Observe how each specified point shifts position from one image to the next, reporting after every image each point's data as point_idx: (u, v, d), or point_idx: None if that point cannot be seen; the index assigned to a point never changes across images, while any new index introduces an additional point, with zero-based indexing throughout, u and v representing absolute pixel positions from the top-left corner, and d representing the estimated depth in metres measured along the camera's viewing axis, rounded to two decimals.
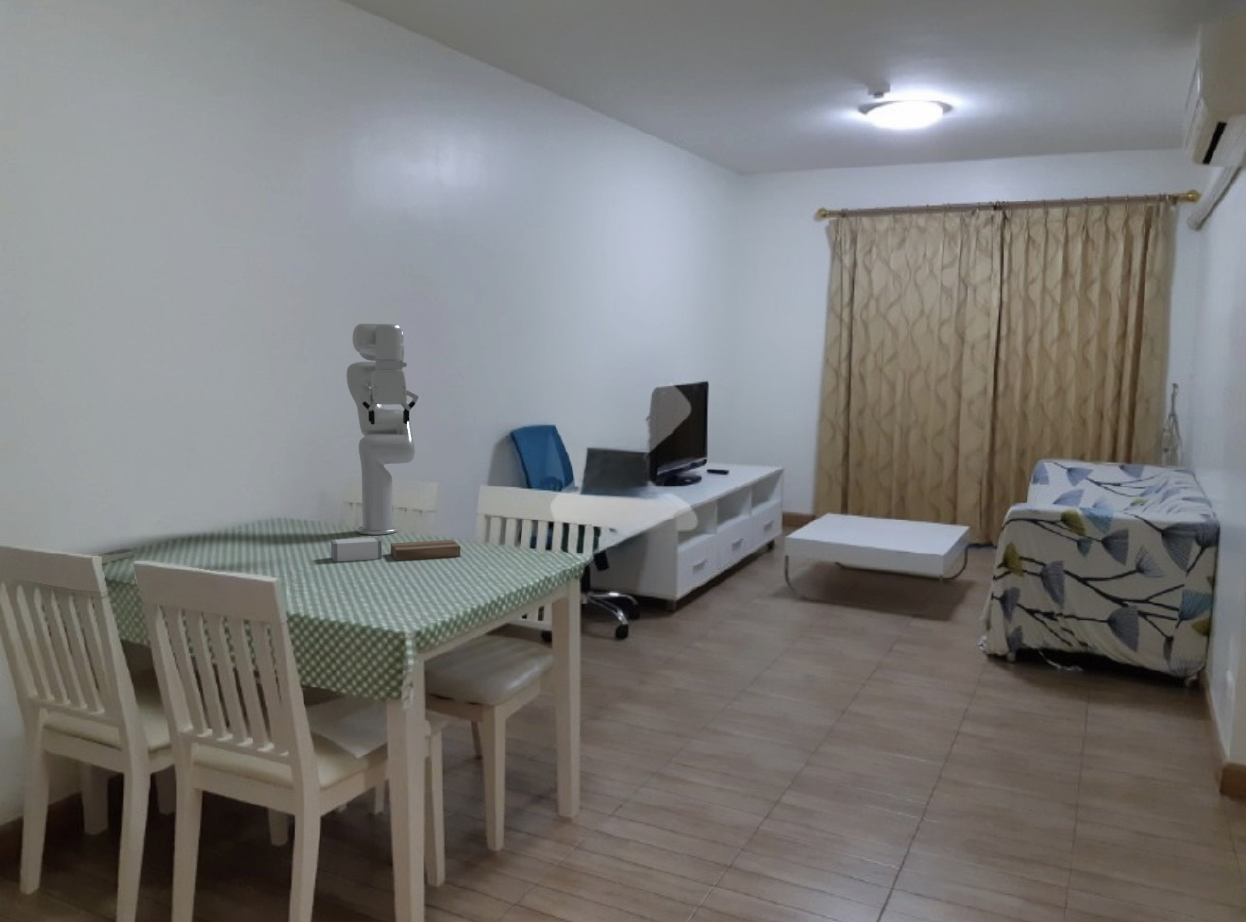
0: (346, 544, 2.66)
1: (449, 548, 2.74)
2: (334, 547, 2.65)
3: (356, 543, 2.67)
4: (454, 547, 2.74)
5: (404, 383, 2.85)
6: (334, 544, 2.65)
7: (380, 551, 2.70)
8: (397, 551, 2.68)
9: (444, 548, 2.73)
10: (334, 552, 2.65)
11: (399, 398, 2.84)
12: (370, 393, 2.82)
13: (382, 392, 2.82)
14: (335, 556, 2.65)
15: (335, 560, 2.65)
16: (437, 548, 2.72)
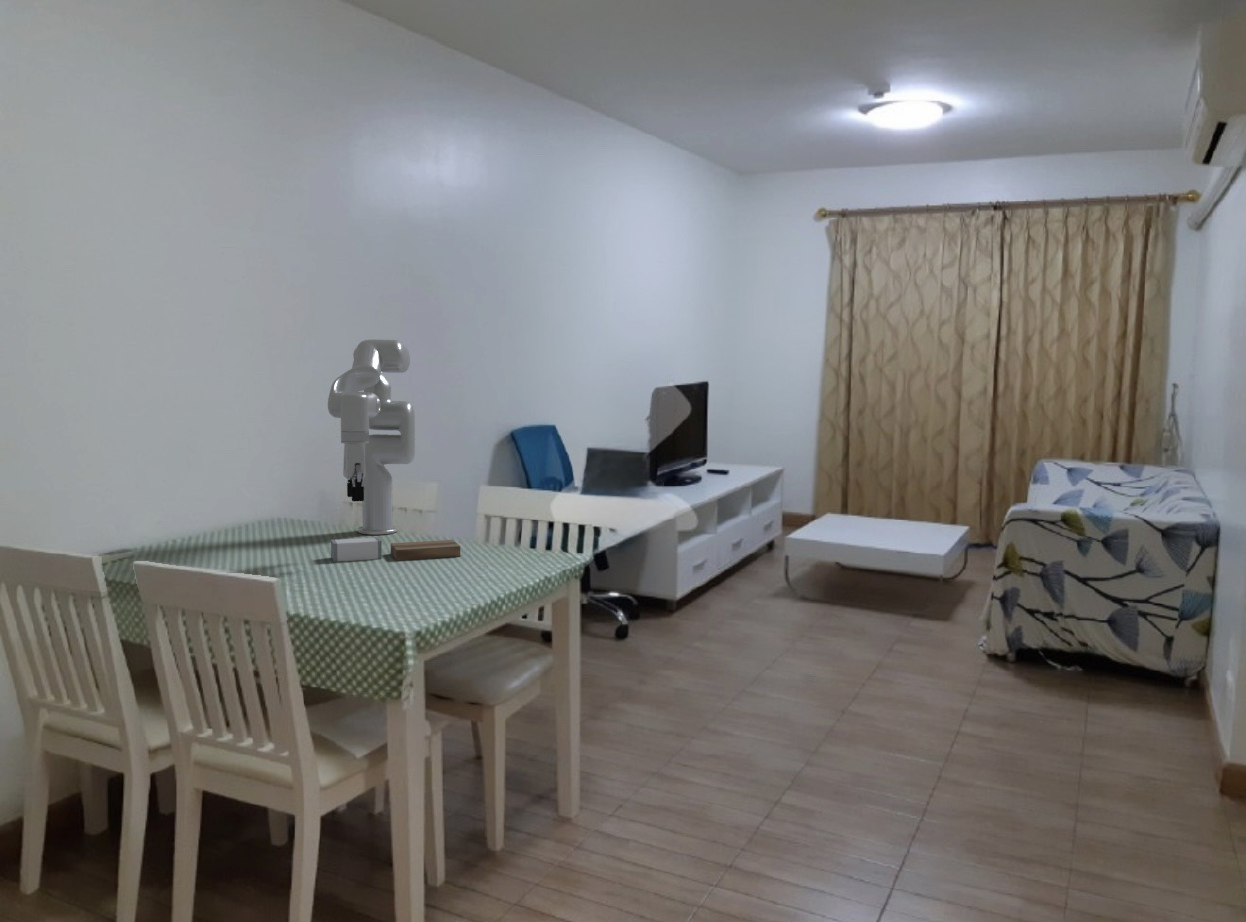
0: (346, 544, 2.66)
1: (449, 548, 2.74)
2: (334, 547, 2.65)
3: (356, 543, 2.67)
4: (454, 547, 2.74)
5: None
6: (334, 544, 2.65)
7: (380, 551, 2.70)
8: (397, 551, 2.68)
9: (444, 548, 2.73)
10: (334, 552, 2.65)
11: None
12: None
13: None
14: (335, 556, 2.65)
15: (335, 560, 2.65)
16: (437, 548, 2.72)
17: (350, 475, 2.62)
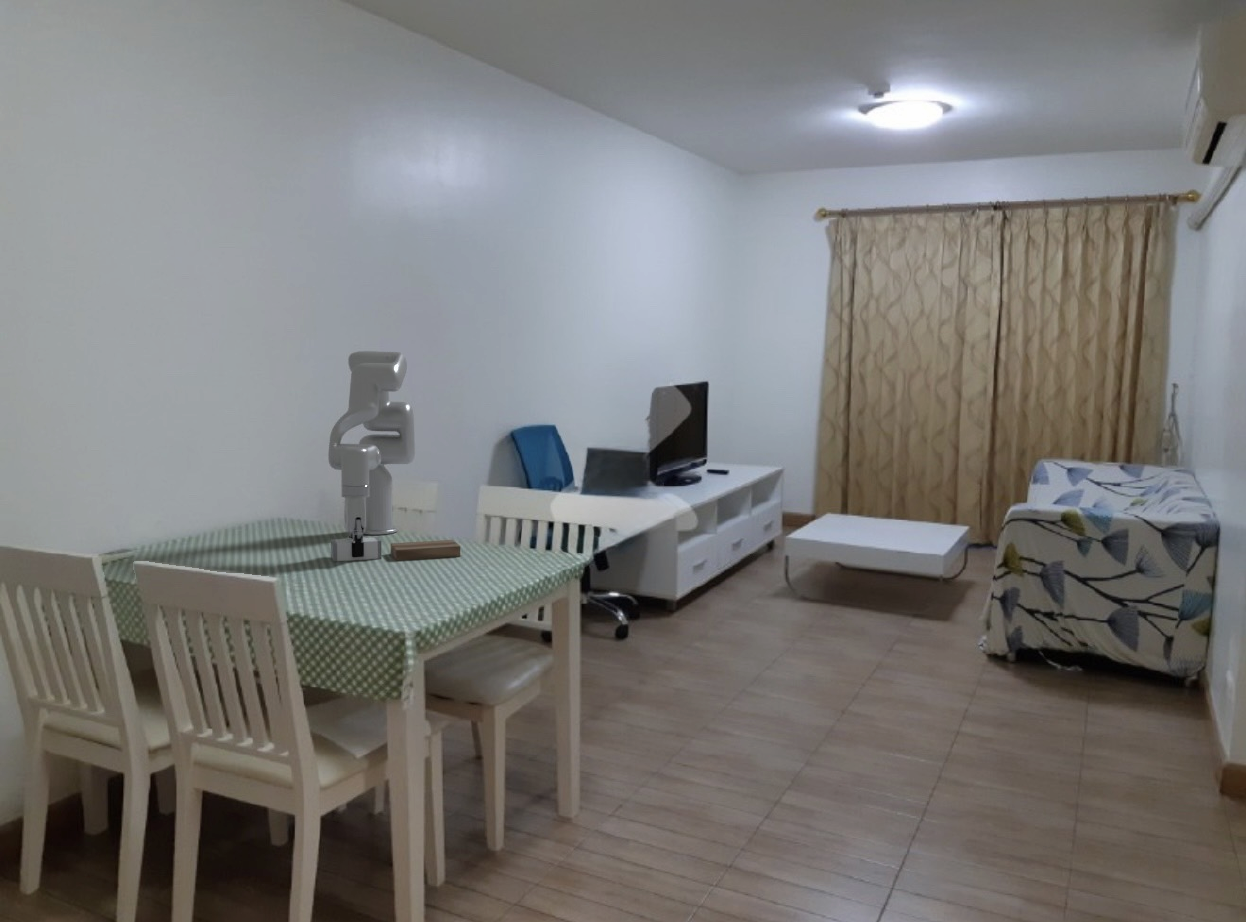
0: (346, 544, 2.66)
1: (449, 548, 2.74)
2: (334, 547, 2.65)
3: None
4: (454, 547, 2.74)
5: None
6: (334, 544, 2.65)
7: (380, 551, 2.70)
8: (397, 551, 2.68)
9: (444, 548, 2.73)
10: (334, 552, 2.65)
11: None
12: None
13: None
14: (335, 556, 2.65)
15: (335, 560, 2.65)
16: (437, 548, 2.72)
17: (351, 529, 2.64)
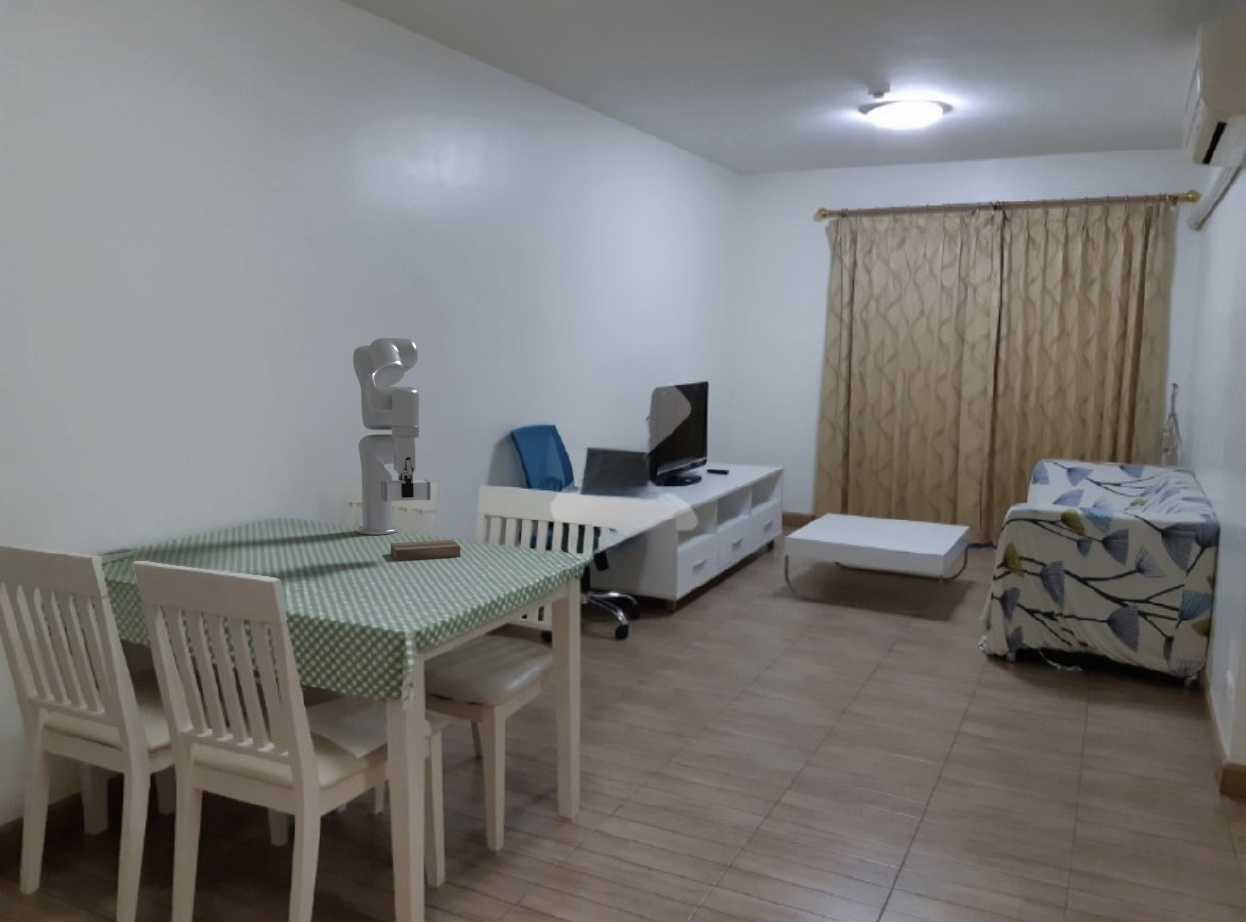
0: (396, 484, 2.68)
1: (449, 548, 2.74)
2: (384, 487, 2.67)
3: None
4: (454, 547, 2.74)
5: None
6: (384, 484, 2.67)
7: (429, 492, 2.72)
8: (397, 551, 2.68)
9: (444, 548, 2.73)
10: (384, 492, 2.67)
11: None
12: None
13: None
14: (385, 496, 2.68)
15: (385, 500, 2.68)
16: (437, 548, 2.72)
17: (401, 469, 2.66)
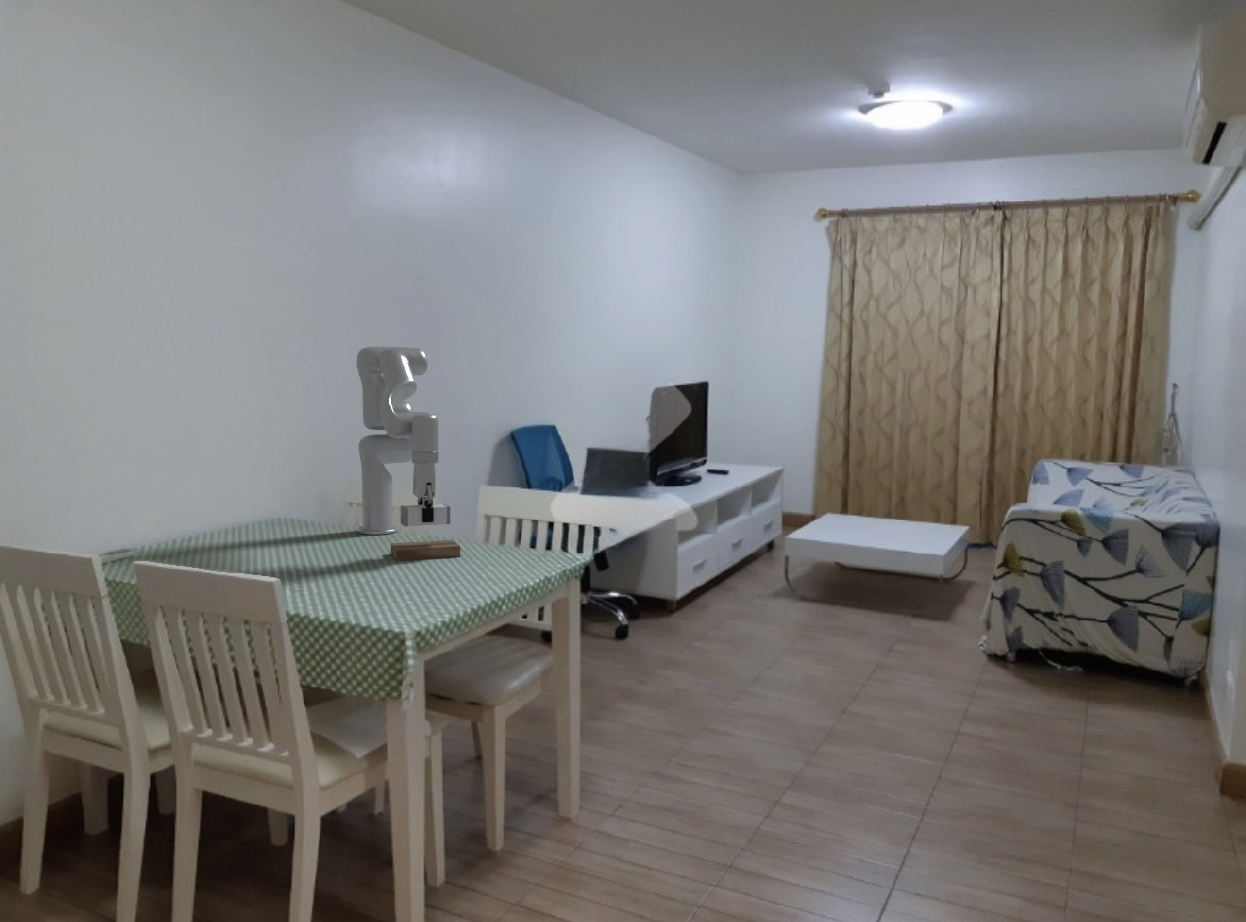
0: (416, 509, 2.71)
1: (449, 548, 2.74)
2: (405, 512, 2.69)
3: None
4: (454, 547, 2.74)
5: None
6: (405, 509, 2.69)
7: (449, 516, 2.74)
8: (397, 551, 2.68)
9: (444, 548, 2.73)
10: (405, 517, 2.69)
11: None
12: None
13: None
14: (406, 521, 2.70)
15: (406, 525, 2.70)
16: (437, 548, 2.72)
17: (422, 494, 2.69)
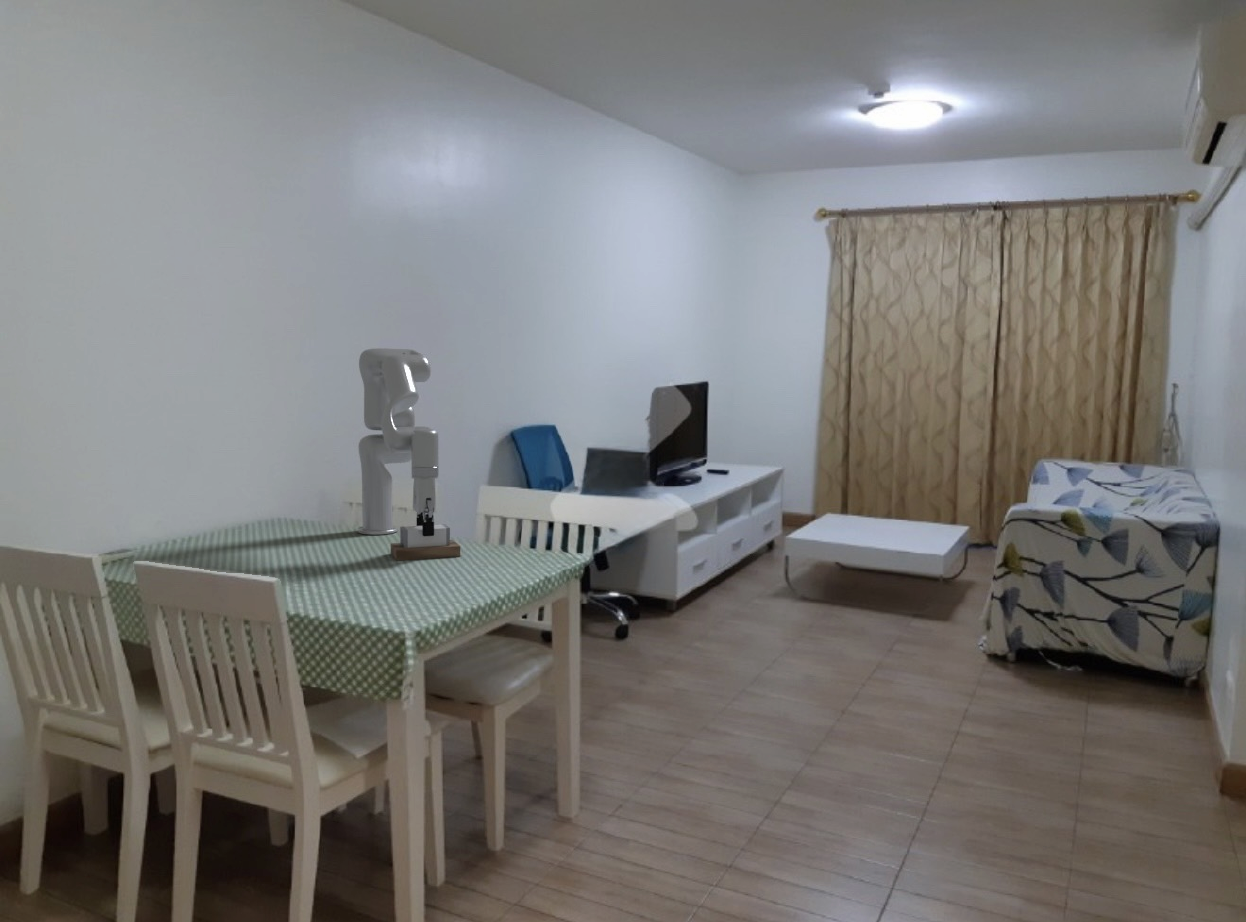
0: (416, 531, 2.71)
1: (449, 548, 2.74)
2: (405, 533, 2.70)
3: None
4: (454, 547, 2.74)
5: None
6: (405, 530, 2.70)
7: (448, 538, 2.75)
8: (397, 551, 2.68)
9: (444, 548, 2.73)
10: (404, 538, 2.70)
11: None
12: None
13: None
14: (405, 542, 2.71)
15: (405, 546, 2.71)
16: (437, 548, 2.72)
17: (421, 510, 2.69)
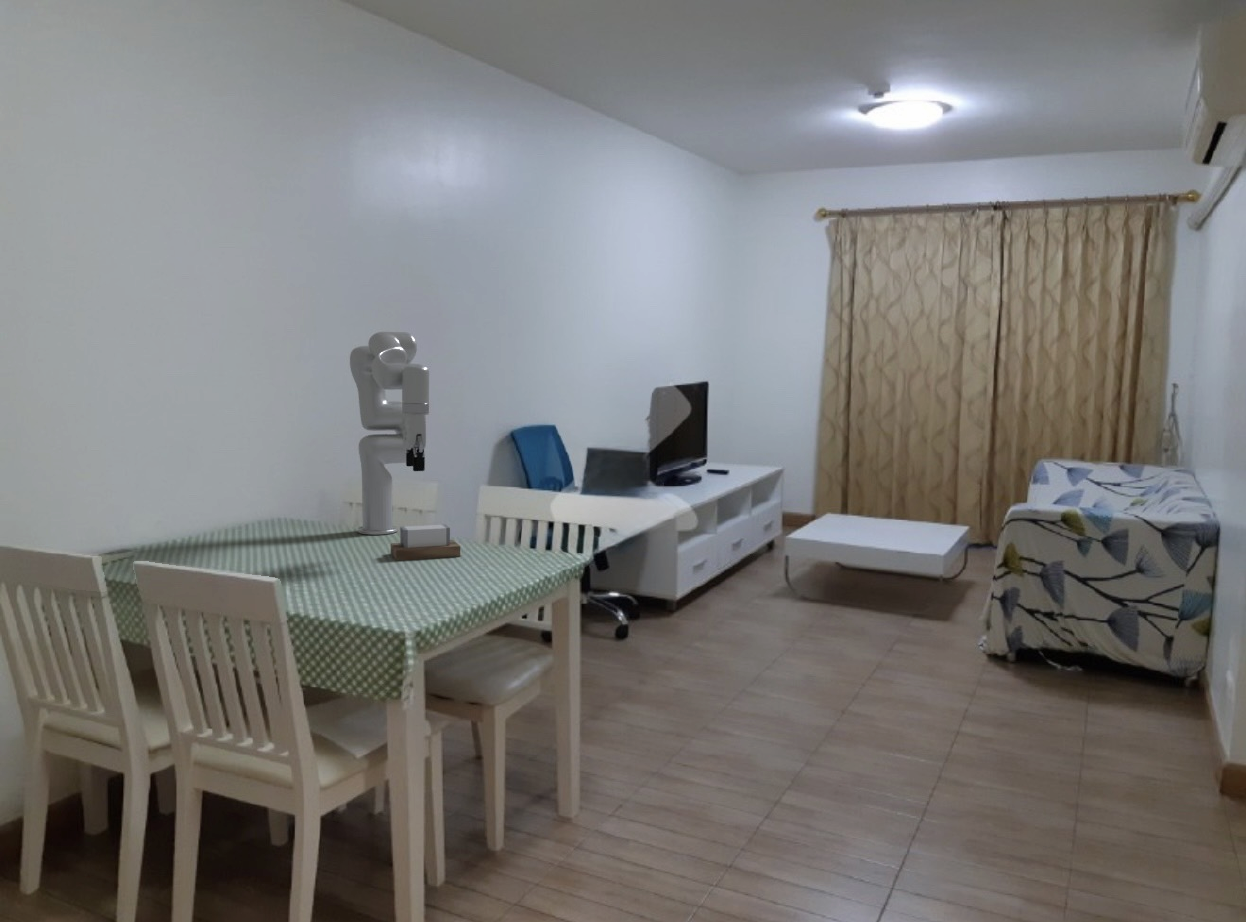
0: (416, 531, 2.71)
1: (449, 548, 2.74)
2: (405, 533, 2.70)
3: (426, 530, 2.72)
4: (454, 547, 2.74)
5: None
6: (405, 530, 2.70)
7: (448, 538, 2.75)
8: (397, 551, 2.68)
9: (444, 548, 2.73)
10: (404, 538, 2.70)
11: None
12: None
13: None
14: (405, 542, 2.71)
15: (405, 546, 2.71)
16: (437, 548, 2.72)
17: (412, 446, 2.70)
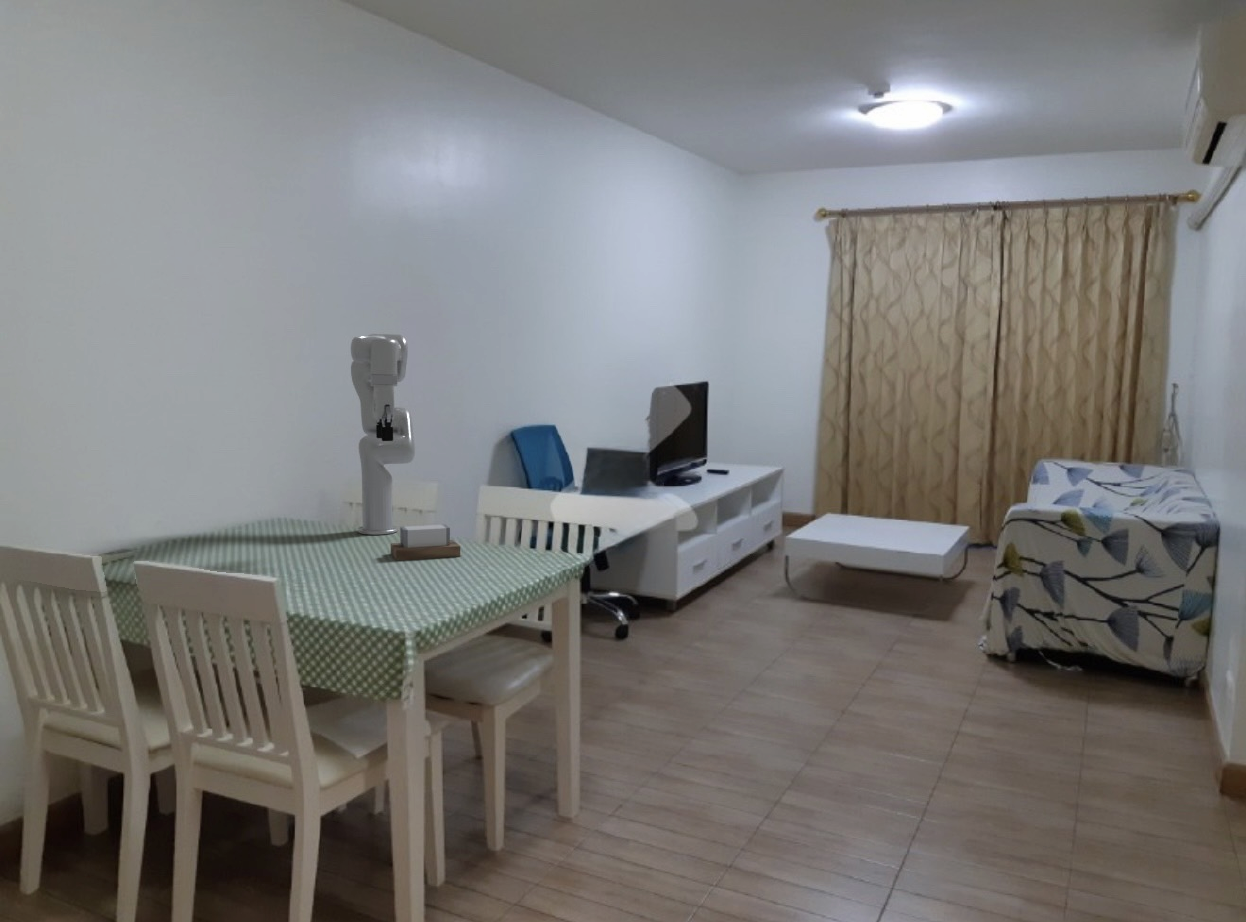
0: (416, 531, 2.71)
1: (449, 548, 2.74)
2: (405, 533, 2.70)
3: (426, 530, 2.72)
4: (454, 547, 2.74)
5: None
6: (405, 530, 2.70)
7: (448, 538, 2.75)
8: (397, 551, 2.68)
9: (444, 548, 2.73)
10: (404, 538, 2.70)
11: None
12: None
13: None
14: (405, 542, 2.71)
15: (405, 546, 2.71)
16: (437, 548, 2.72)
17: (380, 416, 2.76)
